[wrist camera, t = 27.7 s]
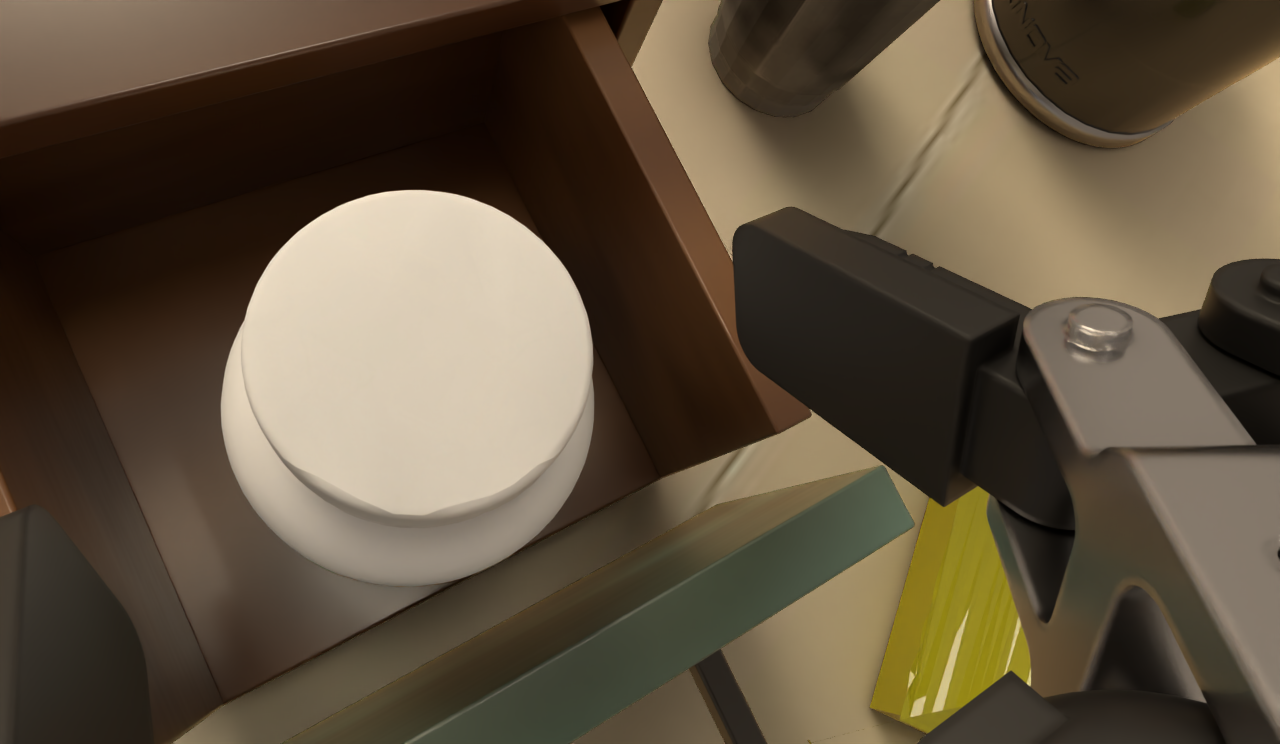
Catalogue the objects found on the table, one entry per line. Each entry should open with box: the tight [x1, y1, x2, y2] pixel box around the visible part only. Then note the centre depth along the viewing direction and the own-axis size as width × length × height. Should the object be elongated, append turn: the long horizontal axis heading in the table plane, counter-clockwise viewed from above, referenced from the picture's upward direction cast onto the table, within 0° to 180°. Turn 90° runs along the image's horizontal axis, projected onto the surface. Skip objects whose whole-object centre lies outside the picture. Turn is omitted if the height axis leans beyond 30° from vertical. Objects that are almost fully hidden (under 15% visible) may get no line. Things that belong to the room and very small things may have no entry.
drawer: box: [0, 6, 915, 744], centre depth 16 cm, size 19×13×8 cm
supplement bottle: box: [221, 190, 594, 587], centre depth 14 cm, size 5×5×10 cm
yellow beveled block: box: [808, 486, 1031, 744], centre depth 22 cm, size 10×9×3 cm
